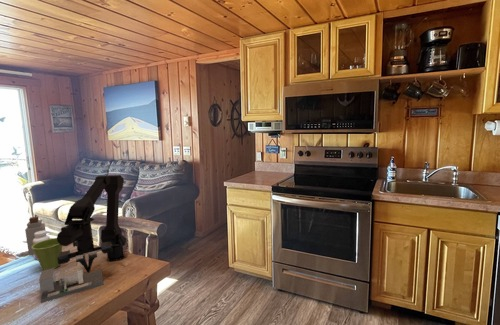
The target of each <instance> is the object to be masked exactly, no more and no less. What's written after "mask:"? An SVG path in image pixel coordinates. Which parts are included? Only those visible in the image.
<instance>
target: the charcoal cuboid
mask: <svg viewBox="0 0 500 325" xmlns="http://www.w3.org/2000/svg"><path fill="white" fill-rule="evenodd" d="M59 291H60V292H62V291H63V284H62V283H59Z"/></svg>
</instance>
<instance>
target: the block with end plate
mask: <svg viewBox="0 0 500 325" xmlns="http://www.w3.org/2000/svg"><path fill="white" fill-rule="evenodd" d="M76 263H77V265H76V269H72V270H69V271H68V270H67V271H65V272H60V273H59V277H58V278H59V279H58V280H59V281H60V283H62V284H63V287H64V289H67V288H66V286H68V285H72V284H76V283H79V284H82V283H84V280H83V274H84V270H83V268H84V267H83V265H82V264H81V263H80V262H76Z"/></svg>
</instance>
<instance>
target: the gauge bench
mask: <svg viewBox="0 0 500 325" xmlns="http://www.w3.org/2000/svg"><path fill="white" fill-rule="evenodd" d="M56 278H57V277H56V272H55V269H54V268H52V269H48V270H41V272H40V276H39V278H38V279H39V280H38V281H39V282H38V283H39V288H40V294H41V295H40V303H41V304H43V303H45V302H48V301H51V300H56V299H60V298H62V297H66V296H69V295H72V294H73V295H74V294H76V293H80V292H84V291H86V290H90V289H94V288H98V287H101V286H103V285H104V278H103V271H102V269H101V268H99V269H97V270H93V271H90V272H89V273H87V272H85V273H83V280H84V283H82V284H79V283H76V284H72V285H68V286H66V288H67V289H64V287H63V291H62V292H60V291H59V283H60V281H59V279H58V280H56Z"/></svg>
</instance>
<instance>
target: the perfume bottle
mask: <svg viewBox="0 0 500 325" xmlns="http://www.w3.org/2000/svg"><path fill="white" fill-rule="evenodd" d="M28 220H29V221H28V222H27V223H26V226H27V227H26V228H25V230H24V231H25V237H26V243H27V250H28V251H27V252H28V256H29V257H30V256H31V257H32V256H35V253H34V249H32V246H33V239H34V238H35V236H34V233H36V232H39V231H46V225H45V223H44V222H42V221H43V219H39V216H31V217H30V218H29V219H28ZM46 232H47V231H46Z"/></svg>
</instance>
